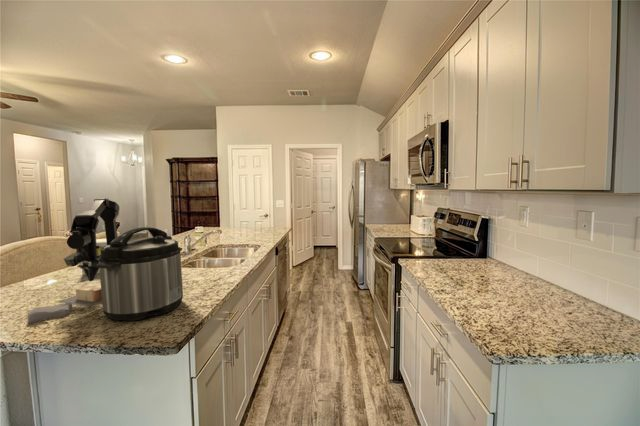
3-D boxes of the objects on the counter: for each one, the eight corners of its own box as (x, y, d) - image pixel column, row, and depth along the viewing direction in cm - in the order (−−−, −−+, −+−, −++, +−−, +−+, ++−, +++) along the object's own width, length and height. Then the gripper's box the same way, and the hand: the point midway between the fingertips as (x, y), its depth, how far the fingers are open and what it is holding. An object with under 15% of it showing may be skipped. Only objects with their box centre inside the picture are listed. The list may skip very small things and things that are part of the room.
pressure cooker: (173, 290, 140) (169, 221, 137) (198, 307, 119) (193, 227, 116) (92, 308, 119) (85, 228, 116) (105, 334, 99) (97, 237, 96)
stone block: (35, 319, 115) (25, 324, 106) (35, 306, 116) (25, 310, 107) (75, 313, 121) (68, 318, 112) (75, 301, 121) (69, 304, 113)
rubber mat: (92, 291, 139) (91, 290, 139) (121, 295, 134) (121, 294, 134) (57, 302, 126) (57, 301, 126) (88, 307, 120) (88, 306, 120)
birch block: (90, 284, 133) (108, 286, 130) (91, 294, 134) (109, 296, 130) (75, 288, 128) (94, 291, 124) (76, 299, 128) (95, 302, 125)
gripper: (50, 247, 122) (54, 285, 124) (83, 249, 116) (86, 289, 118) (80, 242, 133) (83, 277, 134) (111, 244, 127) (114, 280, 128)
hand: (91, 281), depth 128 cm, fingers closed
